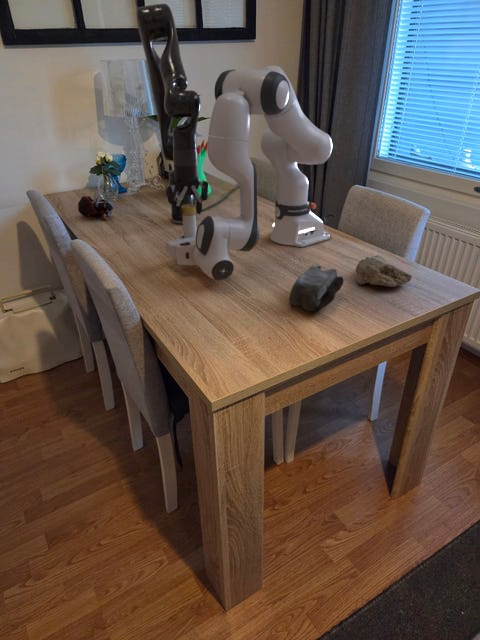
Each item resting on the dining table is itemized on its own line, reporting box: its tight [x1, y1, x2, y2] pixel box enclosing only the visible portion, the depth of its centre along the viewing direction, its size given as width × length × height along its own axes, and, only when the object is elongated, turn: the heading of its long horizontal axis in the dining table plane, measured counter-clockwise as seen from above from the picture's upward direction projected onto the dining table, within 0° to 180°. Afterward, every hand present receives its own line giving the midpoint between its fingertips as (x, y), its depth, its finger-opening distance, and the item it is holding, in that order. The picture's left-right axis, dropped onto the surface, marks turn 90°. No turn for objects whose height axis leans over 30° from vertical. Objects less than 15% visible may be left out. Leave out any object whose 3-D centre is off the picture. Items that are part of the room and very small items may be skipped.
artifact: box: [355, 255, 413, 288], centre depth 137 cm, size 18×7×15 cm
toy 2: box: [172, 139, 212, 197], centre depth 210 cm, size 20×20×25 cm
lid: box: [181, 204, 197, 215], centre depth 146 cm, size 5×5×2 cm
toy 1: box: [77, 195, 115, 221], centre depth 185 cm, size 12×9×15 cm
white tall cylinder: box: [182, 213, 197, 238], centre depth 150 cm, size 4×4×17 cm
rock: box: [288, 265, 345, 313], centre depth 125 cm, size 18×11×8 cm, turn 152°
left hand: (188, 214), depth 147 cm, fingers open, 6 cm apart
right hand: (189, 236), depth 151 cm, fingers closed on white tall cylinder, 4 cm apart
